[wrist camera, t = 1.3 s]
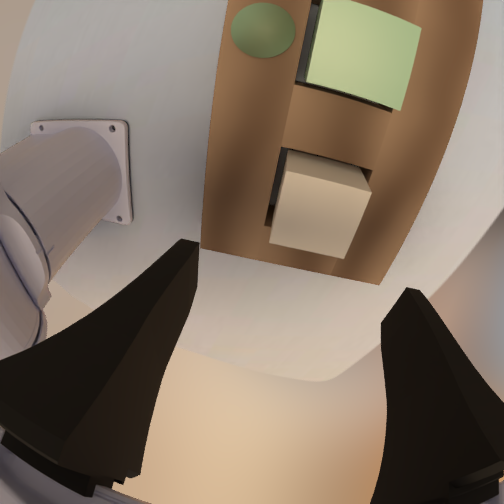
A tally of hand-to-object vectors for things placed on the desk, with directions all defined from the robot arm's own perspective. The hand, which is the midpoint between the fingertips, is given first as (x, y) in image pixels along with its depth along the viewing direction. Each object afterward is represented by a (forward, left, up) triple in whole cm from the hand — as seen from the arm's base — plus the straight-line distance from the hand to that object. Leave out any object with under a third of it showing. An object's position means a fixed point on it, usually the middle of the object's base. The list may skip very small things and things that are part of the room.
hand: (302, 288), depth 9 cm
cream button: (+1, 0, -8) cm, 8 cm away
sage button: (+1, +8, -8) cm, 11 cm away
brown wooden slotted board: (+1, +8, -9) cm, 12 cm away
